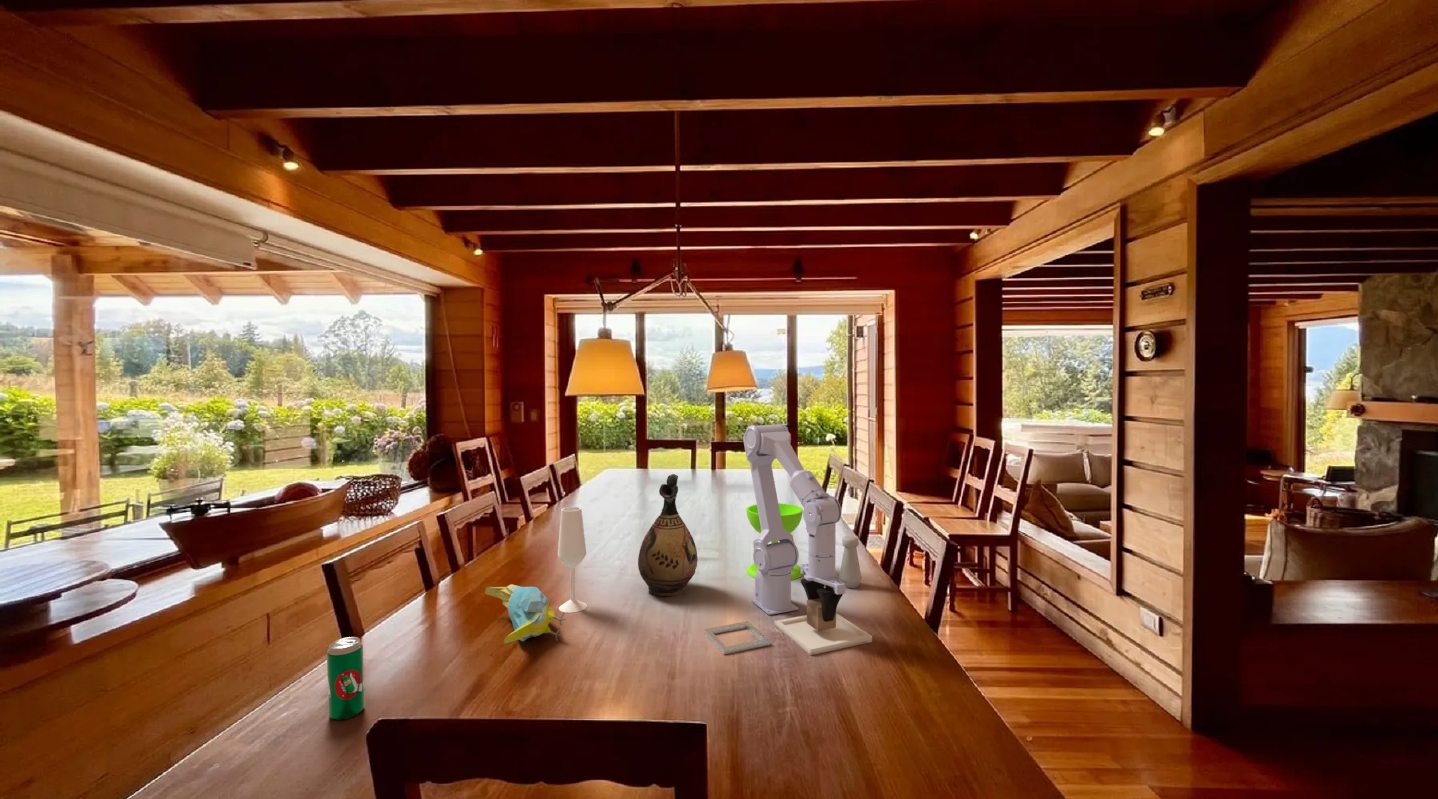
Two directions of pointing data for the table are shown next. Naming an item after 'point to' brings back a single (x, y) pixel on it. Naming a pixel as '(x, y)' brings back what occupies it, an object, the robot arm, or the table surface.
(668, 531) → the ceramic jug
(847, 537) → the salt shaker
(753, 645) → the frame
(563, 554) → the champagne flute
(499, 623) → the table surface
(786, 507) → the wineglass
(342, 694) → the soda can
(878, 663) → the table surface
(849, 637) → the tray
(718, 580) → the table surface
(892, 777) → the table surface
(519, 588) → the decorative bird
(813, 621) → the walnut block
